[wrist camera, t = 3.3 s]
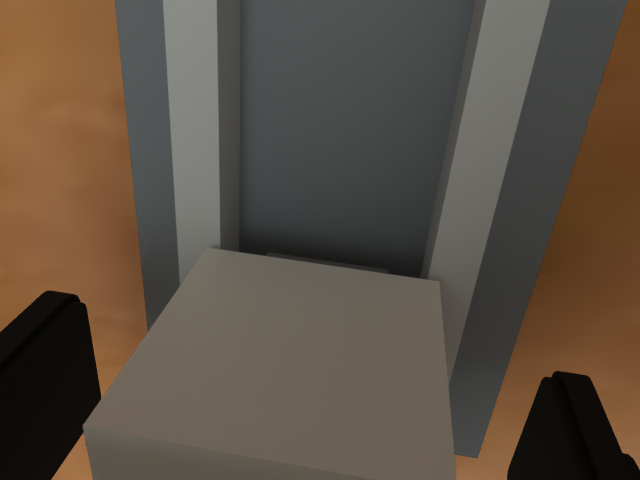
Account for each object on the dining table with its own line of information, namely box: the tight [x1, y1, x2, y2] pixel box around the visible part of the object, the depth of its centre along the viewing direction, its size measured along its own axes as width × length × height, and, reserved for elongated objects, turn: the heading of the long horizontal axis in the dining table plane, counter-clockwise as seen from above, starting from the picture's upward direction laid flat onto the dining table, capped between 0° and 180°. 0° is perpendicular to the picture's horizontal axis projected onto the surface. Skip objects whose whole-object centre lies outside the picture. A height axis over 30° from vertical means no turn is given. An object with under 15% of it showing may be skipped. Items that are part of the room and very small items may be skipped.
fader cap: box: [83, 248, 457, 480], centre depth 11 cm, size 5×4×7 cm
